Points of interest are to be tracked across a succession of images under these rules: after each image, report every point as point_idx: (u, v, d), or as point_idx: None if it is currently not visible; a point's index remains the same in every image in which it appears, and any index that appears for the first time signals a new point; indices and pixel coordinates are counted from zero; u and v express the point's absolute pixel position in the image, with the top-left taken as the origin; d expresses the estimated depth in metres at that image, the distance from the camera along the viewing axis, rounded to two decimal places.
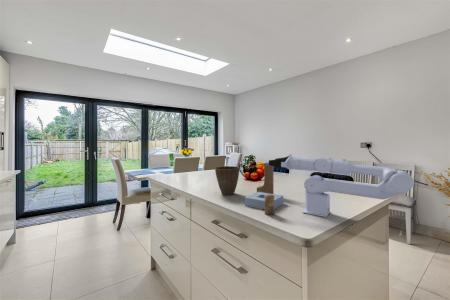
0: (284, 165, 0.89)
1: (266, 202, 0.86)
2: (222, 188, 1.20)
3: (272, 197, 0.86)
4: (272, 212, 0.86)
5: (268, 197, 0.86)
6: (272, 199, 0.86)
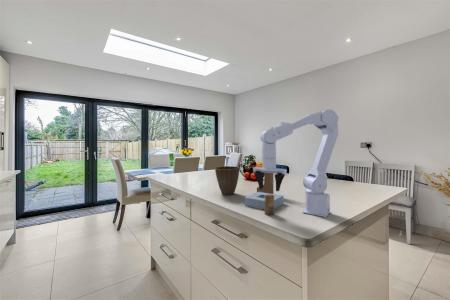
0: (285, 170, 0.83)
1: (266, 202, 0.86)
2: (222, 188, 1.20)
3: (272, 197, 0.86)
4: (272, 212, 0.86)
5: (268, 197, 0.86)
6: (272, 199, 0.86)
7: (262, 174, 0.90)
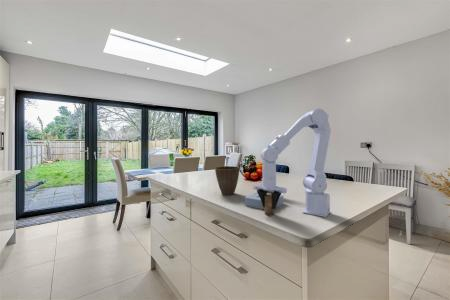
0: (285, 189, 0.83)
1: (266, 202, 0.86)
2: (222, 188, 1.20)
3: None
4: (272, 212, 0.86)
5: (268, 197, 0.86)
6: None
7: (265, 192, 0.90)
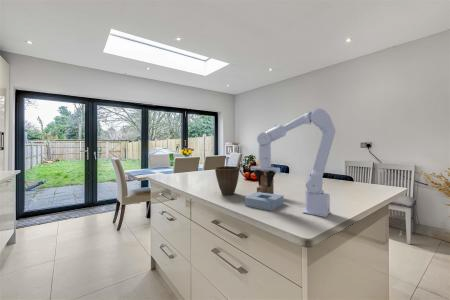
0: (279, 169, 0.94)
1: (262, 181, 0.97)
2: (222, 188, 1.20)
3: None
4: (267, 190, 0.96)
5: (264, 176, 0.96)
6: None
7: (261, 172, 1.00)
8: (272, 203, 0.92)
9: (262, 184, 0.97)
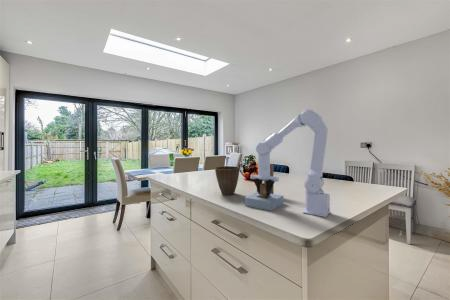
0: (278, 178, 0.97)
1: (261, 190, 0.99)
2: (222, 188, 1.20)
3: None
4: (266, 198, 0.99)
5: (263, 185, 0.99)
6: (266, 187, 0.99)
7: (261, 181, 1.03)
8: (272, 203, 0.92)
9: (261, 193, 0.99)
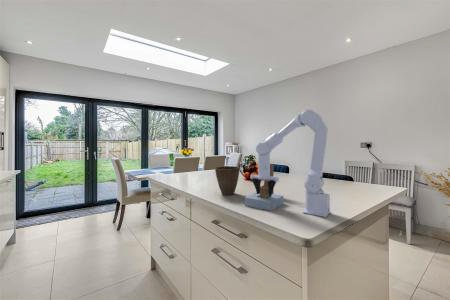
0: (278, 178, 0.97)
1: (261, 194, 1.00)
2: (222, 188, 1.20)
3: (266, 190, 0.99)
4: None
5: (263, 190, 0.99)
6: (266, 191, 0.99)
7: (259, 181, 1.04)
8: (272, 203, 0.92)
9: (261, 197, 1.00)
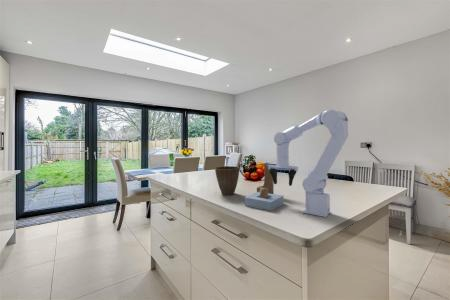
0: (297, 167, 0.96)
1: (261, 194, 1.00)
2: (222, 188, 1.20)
3: (266, 190, 0.99)
4: None
5: (263, 190, 0.99)
6: (266, 191, 0.99)
7: (276, 171, 1.04)
8: (272, 203, 0.92)
9: (261, 197, 1.00)
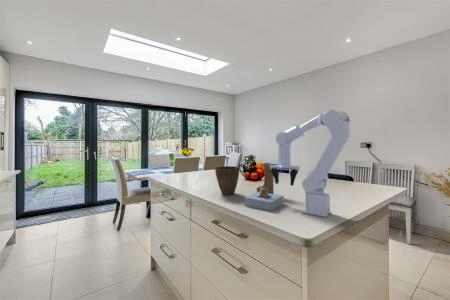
0: (299, 167, 0.96)
1: (261, 194, 1.00)
2: (222, 188, 1.20)
3: (266, 190, 0.99)
4: None
5: (263, 190, 0.99)
6: (266, 191, 0.99)
7: (278, 171, 1.04)
8: (272, 203, 0.92)
9: (261, 197, 1.00)
